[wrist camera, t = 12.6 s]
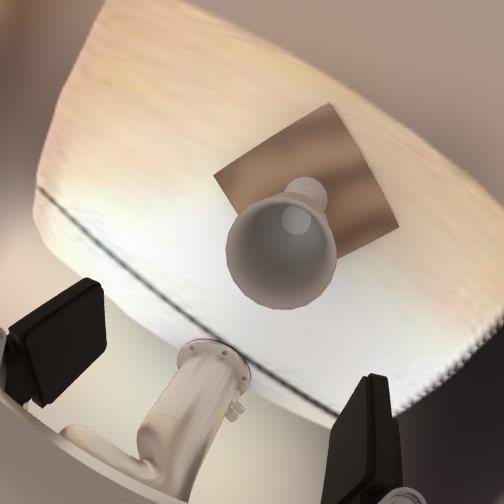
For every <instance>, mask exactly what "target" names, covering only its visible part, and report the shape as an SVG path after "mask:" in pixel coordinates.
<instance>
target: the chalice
mask: <svg viewBox="0 0 504 504" xmlns="http://www.w3.org/2000/svg"><path fill="white" fill-rule="evenodd" d="M327 202H328V200H327V193H326V190H325V188H324V187H323V186H322V184H321V183H320V182H318V181H317V180H315V179H313V178H310V177H300V178H297V179H294V180H293V181H292V182H290V183H289V184H288V186H287V187H286V189H285V192H282V193H279V194H277V195H274V196H272V197H270V198H266V199H263V200H261V201H258V202H256V203H254V204H251V205H249V206H248V207H247V208H246V209H245V210H244V211H243V212H242V213H241V214H240V215H239V216H238V217H237V218H236V220H235V221H234V223H233V225H232V227H231V229H230V231H229V233H228V238H227V244H226V258H227V266H228V268H229V271H230V273H231V276H232V278H233V281H234V282H235V283H236V285H237V286H238V287H239V288H240V290H241V291H242V292H243V293H244V294H245V295H246V296H247V297H249V298H250V299H252V300H253V301H254V302H256V303H257V304H259V305H262V306H265V307H268V308H271V309H279V310H292V309H295V308H298V307H302V306H305V305H307V304H309V303H310V302H312V301H313V300H315V299H316V298H318V297H319V296H320V295H321V294H322V293H323V291H324V290H325V289H326V287H327V286H328V285H329V283H330V282H331V279H332V276H333V273H334V271H335V268H336V245H335V241H334V238H333V235H332V231H331V229H330V228H329V224H328V220H327V217H326V214H325V213H324V210H325V209H326V206H327Z"/></svg>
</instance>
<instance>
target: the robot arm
mask: <svg viewBox="0 0 504 504" xmlns="http://www.w3.org/2000/svg"><path fill="white" fill-rule="evenodd" d="M8 329H9V334H8V335H7V336H6V333H5V331H4V330H3V329H2V328H0V504H188V501H189V497H190V494H191V490H192V487H193V484H194V482H195V479H196V476H197V474H198V472H199V470H200V467H201V465H202V463H203V461H204V459H205V457H206V454H207V452H208V450H209V448H210V446H211V444H212V442H213V439H214V437H215V435H216V433H217V431H218V429H219V427H220V425H221V422H222V420H223V418H224V416H225V417H226V418H227V419H228V420H229V421H230V422H233V421H235V420H236V419H237V418H238V414H237V413H236V412H235V411H234V410H233V409H232V408H231V407H230V406H233V407H234V409H235V410H236V411H237V412H238V413H239V414H241V413H243V412H244V411H245V408H244V407H243V406H242V405H241V404H240V403H239V402H238V397H239V396H240V395H242V394H243V393H244V392H245V391H246V390H247V387H248V385H249V382H250V372H249V368H248V366H247V364H246V362H245V361H244V360H243V358H242V357H241V356H240V355H239V354H238V353H237V352H236V351H234V350H233V349H231V348H230V347H228V346H226V345H224V344H222V343H219V342H217V341H213V340H206V339H200V340H194V341H191V342H189V343H187V344H186V345H185V346H184V347H183V348H182V349H181V351H180V352H179V354H178V357H177V365H178V369H179V370H178V372H177V373H176V374H175V376H174V377H173V379H172V380H171V382H170V383H169V384H168V386H167V387H166V389H165V390H164V392H163V393H162V394H161V396H160V397H159V399H158V400H157V402H156V403H155V404H154V406H153V407H152V409H151V410H150V412H149V413H148V414H147V416H146V417H145V419H144V421H143V422H142V423H141V425H140V427H139V429H138V432H137V448H138V453H139V457H140V460H138V459H136V458H134V457H132V456H130V455H128V454H126V453H124V452H123V451H122V450H120V449H118V448H117V447H115V446H114V445H112V444H111V443H109V442H107V441H106V440H105V439H103V438H102V437H100V436H99V435H98V434H96V433H95V432H93V431H92V430H90V429H88V428H87V427H84V426H82V425H77V424H75V425H74V424H73V425H69V426H67V427H66V428H64V429H63V430H61V431H60V432H59V433H58V434H57V433H56V432H54V431H53V430H52V429H50V428H49V427H48V426H46V425H45V424H43V423H42V422H41V421H40V420H38V419H37V418H36V417H34V416H33V415H32V414H31V413H29V412H28V401H29V400H30V399H31V398H32V401H33V402H35V403H36V404H37V405H38V406H40V407H41V408H44V407H45V406H46V405H47V404H51V403H52V402H54V401H55V399H57V397H59V396H60V394H62V393H63V392H64V391H65V390H66V389H67V388H68V387H69V386H70V385H71V384H72V383H73V382H74V381H75V380H76V379H77V378H78V377H79V376H80V375H81V374H82V373H83V372H84V371H85V370H86V369H87V368H88V367H89V366H90V365H91V364H92V363H93V362H94V361H95V360H96V359H97V358H98V357H99V356H100V355H101V354H102V353H103V352H104V351H105V349H106V346H107V341H106V327H105V311H104V290H103V288H101V284H100V283H99V282H97V281H95V280H92V279H90V278H87V277H86V278H83V279H82V280H80V281H79V282H77V283H75V284H74V285H72V286H71V287H69V288H68V289H66V290H64V291H63V292H61V293H60V294H58V295H57V296H55V297H54V298H52V299H51V300H49V301H47V302H46V303H44V304H43V305H41V306H40V307H38V308H37V309H35V310H34V311H32V312H31V313H29V314H28V315H26V316H25V317H23V318H22V319H21V320H19V321H18V322H16V323H15V324H13V325H12V326H10V327H9V328H8ZM399 436H400V435H399V425H398V421H397V419H396V418H392V412H391V403H390V394H389V385H388V379H387V377H386V376H381V375H377V374H373V373H370V374H369V375H368V377H366V376H363V377H362V378H361V380H360V382H359V384H358V385H357V387H356V389H355V391H354V392H353V394H352V396H351V397H350V399H349V401H348V402H347V404H346V406H345V407H344V409H343V411H342V412H341V414H340V415H339V417H338V419H337V420H336V422H335V423H334V425H333V427H332V429H331V433H330V440H329V449H328V457H327V465H326V472H325V479H324V486H323V492H322V498H321V504H426V502H425V500H424V498H423V497H422V496H421V494H420V493H419V492H417V491H415V490H414V489H411V488H407V487H403V478H402V461H401V446H400V437H399Z"/></svg>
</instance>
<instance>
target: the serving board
mask: <svg viewBox="0 0 504 504" xmlns="http://www.w3.org/2000/svg"><path fill="white" fill-rule="evenodd" d="M213 176H214V177H215V179H216V181H217V182H218V184H219V185H220V187H221V188H222V190H223V192H224V193H225V195H226V196H227V198H228V200H229V201H230V203H231V204H232V206H233V207H234V209H235V211H236V212H237V214H238V215H240V214H241V213H242V212H243V211H244V210H245V209H246V208H247V207H248V206H249V205H251V204H254V203H256V202H258V201H261V200H263V199H266V198H270V197H272V196H274V195H277V194H279V193H282V192H285V189H286V187H287V186H288V184H289V183H290V182H292V181H293V180H294V179H297V178H300V177H310V178H313V179H315V180H317V181H318V182H320V183H321V184H322V186H323V187H324V188H325V190H326V193H327V200H328V202H327V206H326V209H325V210H324V213H325V214H326V217H327V220H328V224H329V228H330V229H331V231H332V235H333V238H334V241H335V245H336V259H338V258H340V257H342V256H344V255H346V254H348V253H350V252H352V251H354V250H356V249H358V248H360V247H362V246H364V245H366V244H368V243H370V242H372V241H374V240H376V239H378V238H380V237H381V236H383V235H385V234H387V233H389V232H391V231H393V230H395V229H397V228H399V225H398V223H397V221H396V219H395V217H394V215H393V213H392V211H391V209H390V207H389V205H388V203H387V201H386V199H385V197H384V195H383V193H382V191H381V189H380V187H379V185H378V183H377V181H376V180H375V178H374V176H373V174H372V172H371V170H370V169H369V167H368V165H367V163H366V161H365V160H364V158H363V156H362V154H361V153H360V151H359V149H358V148H357V146H356V144H355V143H354V141H353V139H352V138H351V136H350V134H349V133H348V131H347V129H346V128H345V126H344V125H343V123H342V121H341V120H340V118H339V117H338V115H337V113H336V112H335V110H334V109H333V107H332V106H331V104H330V103H327V104H325V105H323V106H322V107H320V108H318V109H317V110H315V111H313V112H311V113H310V114H308V115H306V116H305V117H303V118H301V119H300V120H298V121H296V122H295V123H293V124H291V125H290V126H288V127H286V128H285V129H283V130H282V131H280V132H278V133H277V134H275V135H274V136H272V137H270V138H269V139H267V140H266V141H264V142H262V143H261V144H259V145H258V146H256V147H255V148H253V149H252V150H250V151H249V152H247V153H245V154H244V155H242V156H241V157H239V158H238V159H236V160H235V161H233V162H232V163H230V164H229V165H227V166H226V167H224V168H223V169H222V170H220V171H219V172H217V173H216V174H214V175H213Z"/></svg>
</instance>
